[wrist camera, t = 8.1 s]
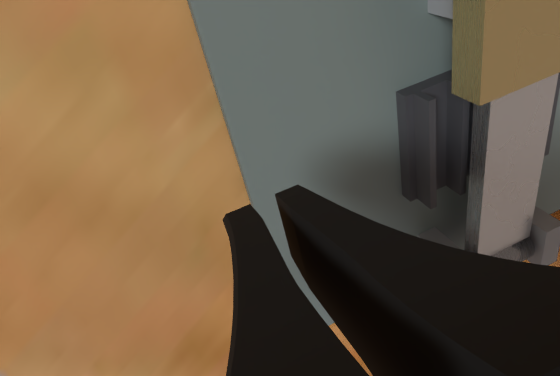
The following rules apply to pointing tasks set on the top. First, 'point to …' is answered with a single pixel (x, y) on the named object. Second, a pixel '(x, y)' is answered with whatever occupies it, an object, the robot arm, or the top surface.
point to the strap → (507, 170)
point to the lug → (503, 46)
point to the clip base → (355, 114)
